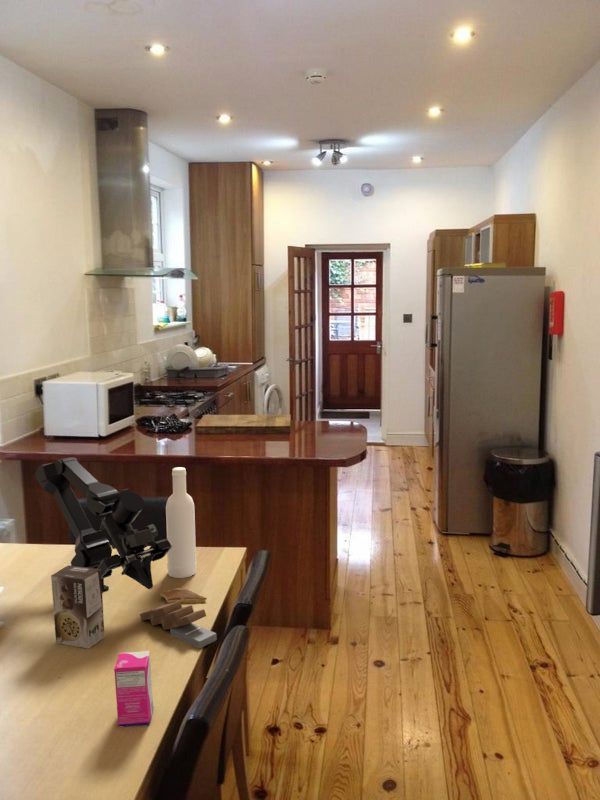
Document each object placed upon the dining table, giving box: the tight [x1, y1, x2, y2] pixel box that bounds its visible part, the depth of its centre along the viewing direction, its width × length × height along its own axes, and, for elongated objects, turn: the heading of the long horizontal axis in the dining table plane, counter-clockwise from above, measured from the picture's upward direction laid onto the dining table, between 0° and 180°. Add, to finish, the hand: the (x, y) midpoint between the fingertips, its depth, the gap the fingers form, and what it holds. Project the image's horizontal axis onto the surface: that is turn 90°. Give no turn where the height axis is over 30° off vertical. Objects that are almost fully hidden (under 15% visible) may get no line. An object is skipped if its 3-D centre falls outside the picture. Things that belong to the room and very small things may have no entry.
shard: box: [160, 587, 208, 605], centre depth 180 cm, size 11×8×2 cm
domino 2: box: [149, 604, 195, 627], centre depth 164 cm, size 2×5×10 cm
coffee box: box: [50, 564, 105, 649], centre depth 158 cm, size 9×6×16 cm
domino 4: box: [169, 622, 218, 649], centre depth 160 cm, size 2×5×10 cm
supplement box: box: [113, 650, 154, 727], centre depth 128 cm, size 6×6×12 cm
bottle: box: [165, 466, 197, 579], centre depth 196 cm, size 8×8×30 cm
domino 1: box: [139, 601, 183, 621], centre depth 167 cm, size 2×5×10 cm
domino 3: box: [161, 608, 207, 631], centre depth 162 cm, size 2×5×10 cm
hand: (150, 588), depth 169 cm, fingers closed
